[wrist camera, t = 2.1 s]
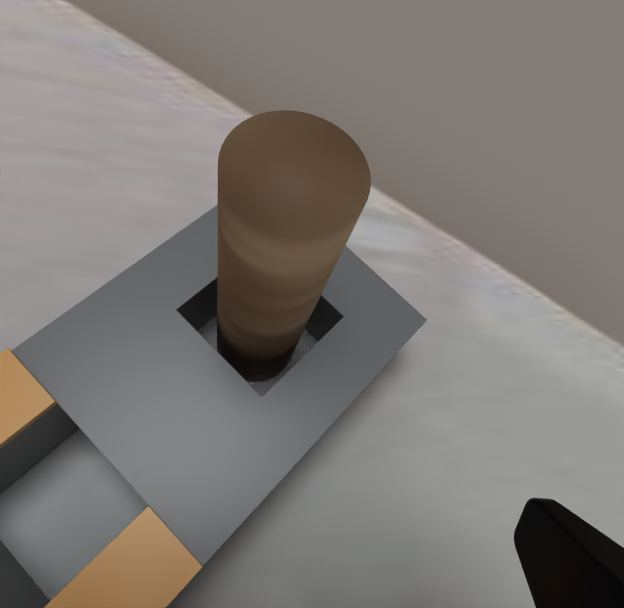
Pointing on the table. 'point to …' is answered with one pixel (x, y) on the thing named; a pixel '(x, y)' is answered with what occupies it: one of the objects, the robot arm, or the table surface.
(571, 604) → the robot arm
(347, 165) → the walnut peg
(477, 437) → the table surface
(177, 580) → the grey peg socket base
